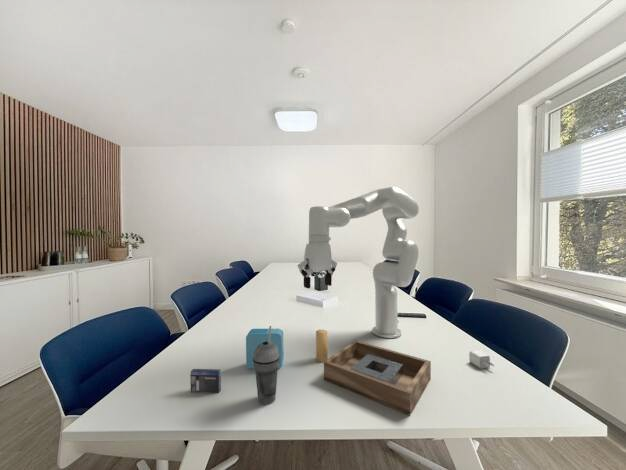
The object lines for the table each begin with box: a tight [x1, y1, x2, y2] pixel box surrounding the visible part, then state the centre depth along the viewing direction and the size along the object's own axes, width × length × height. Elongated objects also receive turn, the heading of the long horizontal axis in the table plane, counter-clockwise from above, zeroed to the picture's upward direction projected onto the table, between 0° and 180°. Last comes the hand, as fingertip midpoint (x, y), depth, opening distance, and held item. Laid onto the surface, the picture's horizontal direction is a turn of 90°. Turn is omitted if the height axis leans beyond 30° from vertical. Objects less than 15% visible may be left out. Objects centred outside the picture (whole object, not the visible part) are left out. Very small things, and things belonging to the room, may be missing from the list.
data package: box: [245, 328, 285, 370], centre depth 89 cm, size 12×4×12 cm, turn 89°
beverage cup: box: [253, 325, 280, 406], centre depth 71 cm, size 7×7×20 cm
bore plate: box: [350, 354, 403, 385], centre depth 80 cm, size 12×12×3 cm
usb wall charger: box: [468, 349, 495, 370], centre depth 87 cm, size 4×7×4 cm, turn 10°
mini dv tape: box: [189, 368, 222, 394], centre depth 75 cm, size 8×2×6 cm, turn 87°
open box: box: [323, 339, 432, 416], centre depth 80 cm, size 20×26×6 cm
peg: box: [315, 329, 329, 363], centre depth 93 cm, size 4×4×10 cm
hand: (317, 286), depth 96 cm, fingers open, 9 cm apart
